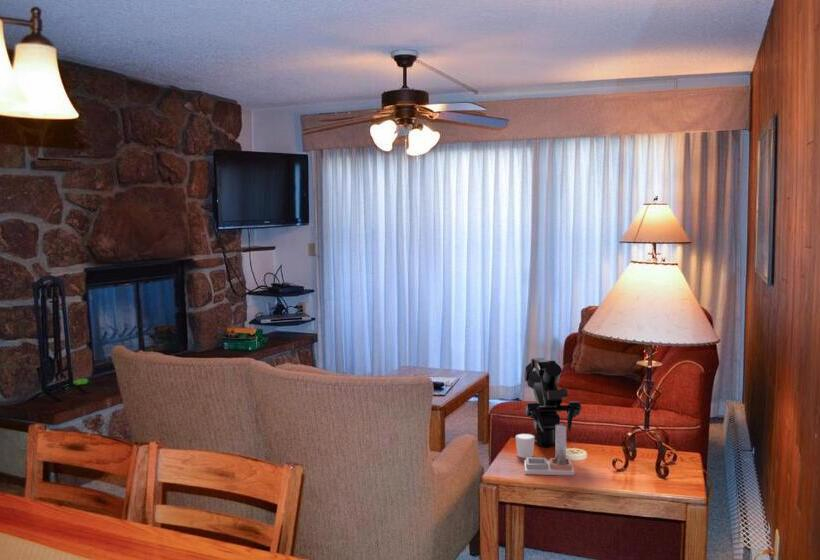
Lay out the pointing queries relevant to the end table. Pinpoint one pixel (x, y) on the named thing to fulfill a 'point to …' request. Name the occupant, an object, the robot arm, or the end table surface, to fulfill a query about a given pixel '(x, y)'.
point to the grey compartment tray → (547, 467)
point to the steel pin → (560, 444)
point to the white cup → (525, 445)
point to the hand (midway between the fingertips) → (556, 430)
